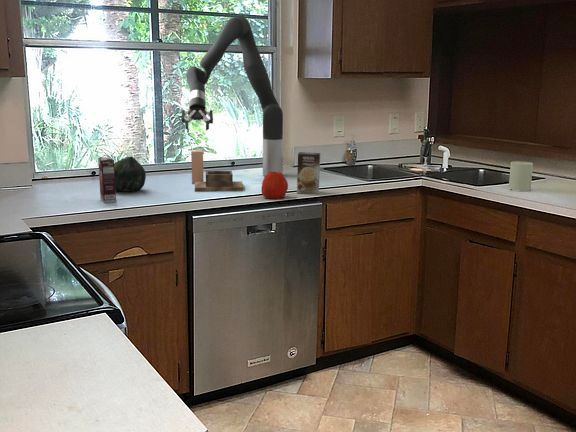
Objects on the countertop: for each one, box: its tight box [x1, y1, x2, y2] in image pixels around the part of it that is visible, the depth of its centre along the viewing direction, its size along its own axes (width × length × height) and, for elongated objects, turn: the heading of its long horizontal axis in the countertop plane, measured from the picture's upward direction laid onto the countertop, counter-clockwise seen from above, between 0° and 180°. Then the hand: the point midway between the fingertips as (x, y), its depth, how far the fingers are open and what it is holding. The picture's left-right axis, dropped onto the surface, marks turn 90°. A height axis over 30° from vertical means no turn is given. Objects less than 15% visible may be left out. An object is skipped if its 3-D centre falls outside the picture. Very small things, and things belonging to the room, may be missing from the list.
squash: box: [114, 156, 147, 193], centre depth 258 cm, size 14×15×15 cm
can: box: [508, 160, 534, 192], centre depth 272 cm, size 9×9×12 cm
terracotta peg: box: [190, 149, 205, 185], centre depth 279 cm, size 5×5×14 cm
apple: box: [261, 171, 289, 200], centre depth 248 cm, size 10×10×10 cm
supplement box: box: [97, 156, 117, 204], centre depth 238 cm, size 9×5×16 cm, turn 24°
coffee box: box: [296, 151, 321, 195], centre depth 259 cm, size 9×6×16 cm
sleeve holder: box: [194, 170, 245, 192], centre depth 268 cm, size 20×15×6 cm
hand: (197, 129), depth 286 cm, fingers open, 8 cm apart
